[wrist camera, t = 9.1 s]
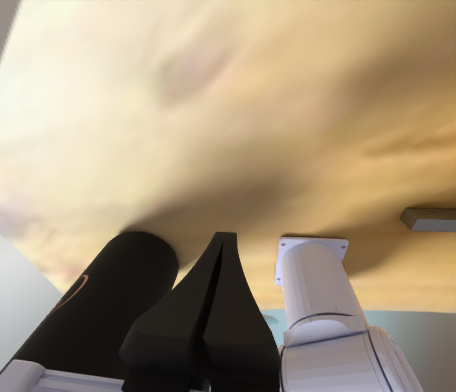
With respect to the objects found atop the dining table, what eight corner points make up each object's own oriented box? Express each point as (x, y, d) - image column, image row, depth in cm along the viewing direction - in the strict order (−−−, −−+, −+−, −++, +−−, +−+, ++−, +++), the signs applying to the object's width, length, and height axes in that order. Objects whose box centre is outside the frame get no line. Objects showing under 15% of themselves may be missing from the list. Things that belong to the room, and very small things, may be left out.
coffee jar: (114, 216, 26) (-72, 415, 11) (190, 245, 28) (113, 457, 13) (108, 262, 32) (-20, 434, 17) (171, 284, 33) (104, 462, 18)
